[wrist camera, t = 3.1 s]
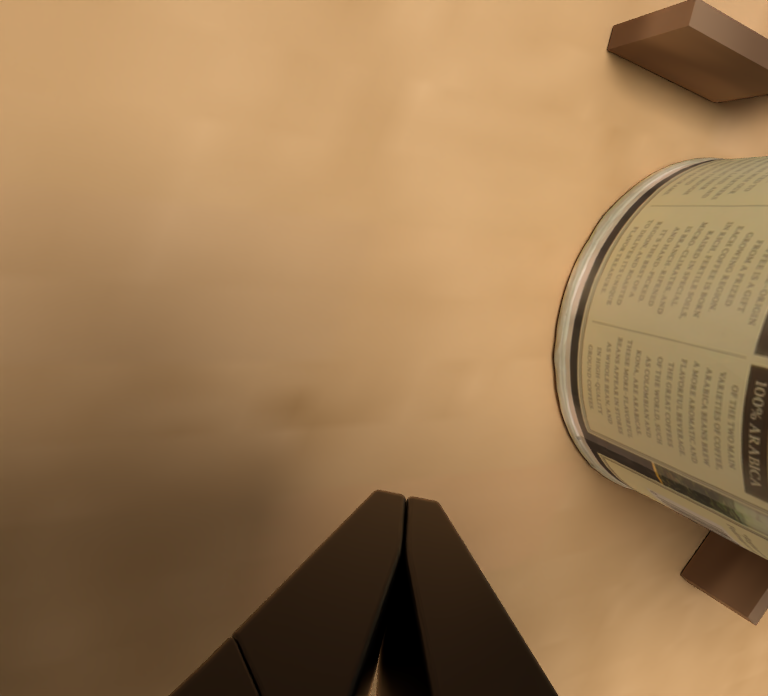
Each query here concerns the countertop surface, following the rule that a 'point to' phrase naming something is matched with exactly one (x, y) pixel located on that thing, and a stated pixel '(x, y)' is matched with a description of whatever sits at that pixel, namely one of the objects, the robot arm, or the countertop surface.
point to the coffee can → (676, 345)
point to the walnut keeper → (718, 84)
